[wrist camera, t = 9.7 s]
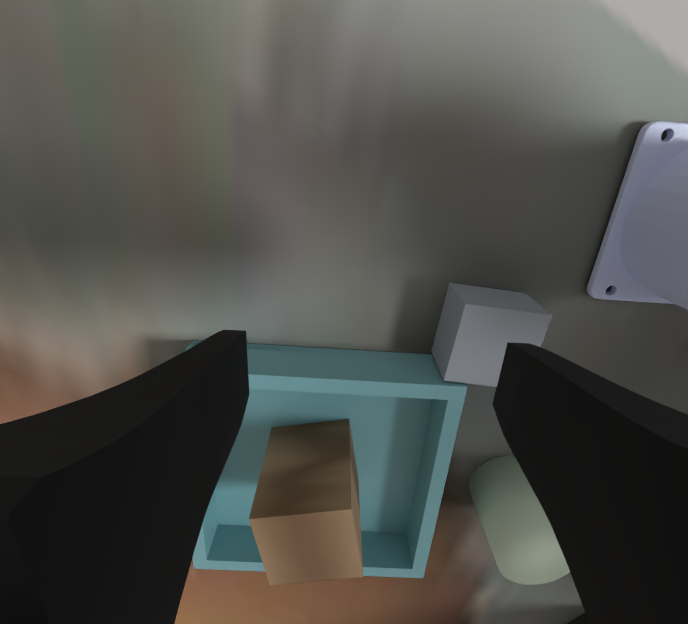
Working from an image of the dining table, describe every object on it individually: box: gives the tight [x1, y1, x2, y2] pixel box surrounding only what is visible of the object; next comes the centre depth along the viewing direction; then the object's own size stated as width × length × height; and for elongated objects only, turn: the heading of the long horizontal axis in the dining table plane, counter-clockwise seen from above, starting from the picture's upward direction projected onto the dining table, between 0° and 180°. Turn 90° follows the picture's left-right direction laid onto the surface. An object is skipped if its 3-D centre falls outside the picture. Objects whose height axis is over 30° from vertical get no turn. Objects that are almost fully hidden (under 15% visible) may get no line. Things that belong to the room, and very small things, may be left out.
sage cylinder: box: [469, 456, 570, 585], centre depth 23 cm, size 4×4×5 cm
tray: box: [185, 340, 467, 578], centre depth 23 cm, size 14×14×3 cm
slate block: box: [431, 283, 553, 387], centre depth 19 cm, size 4×4×3 cm
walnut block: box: [249, 419, 363, 585], centre depth 21 cm, size 4×4×6 cm
